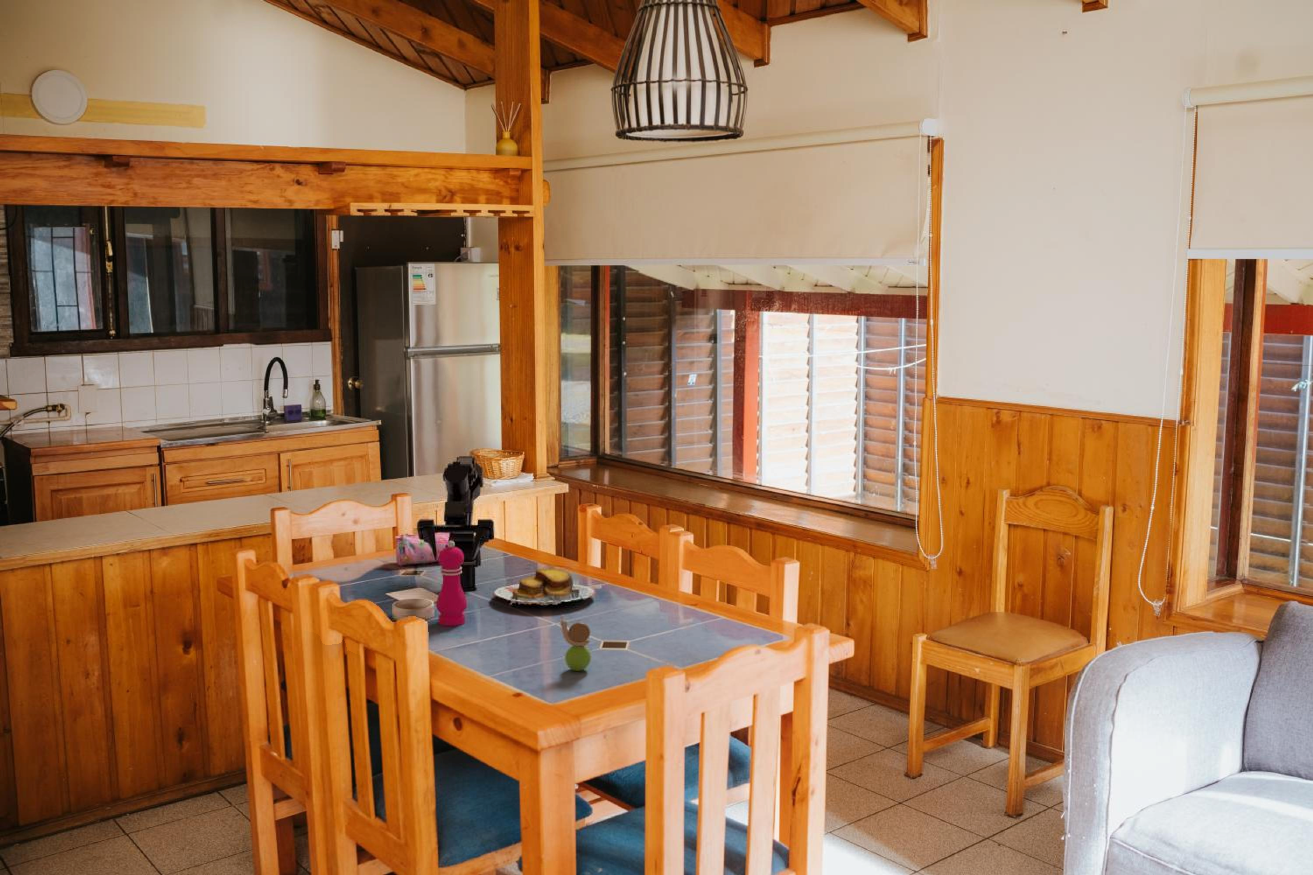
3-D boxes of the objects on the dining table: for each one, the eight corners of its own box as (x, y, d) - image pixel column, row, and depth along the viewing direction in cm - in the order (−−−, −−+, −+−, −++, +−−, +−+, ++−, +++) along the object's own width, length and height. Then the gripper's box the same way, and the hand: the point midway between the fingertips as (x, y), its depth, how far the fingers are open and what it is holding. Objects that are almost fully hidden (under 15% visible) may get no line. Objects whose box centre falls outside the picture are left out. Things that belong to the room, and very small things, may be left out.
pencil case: (400, 569, 332) (399, 538, 331) (391, 562, 340) (390, 531, 339) (472, 561, 342) (472, 531, 341) (462, 554, 350) (462, 525, 349)
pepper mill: (460, 627, 277) (459, 544, 275) (431, 625, 279) (430, 543, 276) (471, 619, 284) (470, 538, 282) (443, 617, 286) (442, 536, 283)
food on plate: (473, 605, 298) (473, 579, 297) (530, 583, 320) (530, 559, 319) (560, 620, 285) (560, 593, 285) (613, 596, 308) (613, 571, 307)
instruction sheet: (420, 588, 312) (420, 587, 312) (446, 599, 301) (446, 598, 301) (385, 594, 305) (385, 593, 305) (411, 606, 295) (411, 605, 295)
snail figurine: (560, 666, 251) (560, 611, 249) (590, 665, 252) (590, 611, 250) (560, 674, 246) (560, 618, 244) (591, 674, 246) (591, 618, 245)
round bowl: (430, 608, 293) (430, 596, 292) (437, 619, 283) (437, 607, 283) (390, 612, 289) (389, 599, 289) (395, 623, 280) (394, 610, 280)
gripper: (417, 487, 290) (412, 541, 281) (493, 487, 292) (490, 541, 283) (421, 512, 299) (416, 565, 290) (495, 512, 301) (493, 564, 291)
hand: (454, 558), depth 288 cm, fingers open, 9 cm apart
